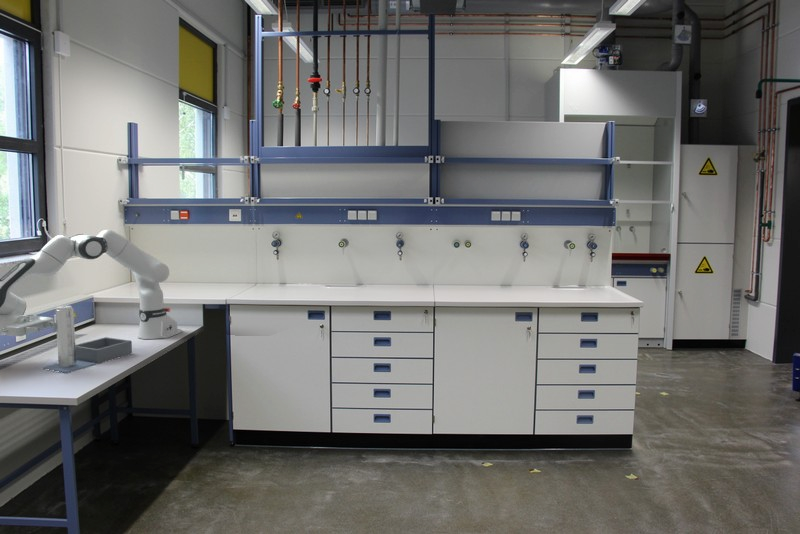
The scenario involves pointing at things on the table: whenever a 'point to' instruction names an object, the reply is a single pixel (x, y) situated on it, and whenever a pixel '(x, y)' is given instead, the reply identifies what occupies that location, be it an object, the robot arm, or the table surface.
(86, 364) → the mat
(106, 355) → the gray open bin
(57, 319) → the light grey tall bar
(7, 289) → the robot arm
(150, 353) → the table surface
